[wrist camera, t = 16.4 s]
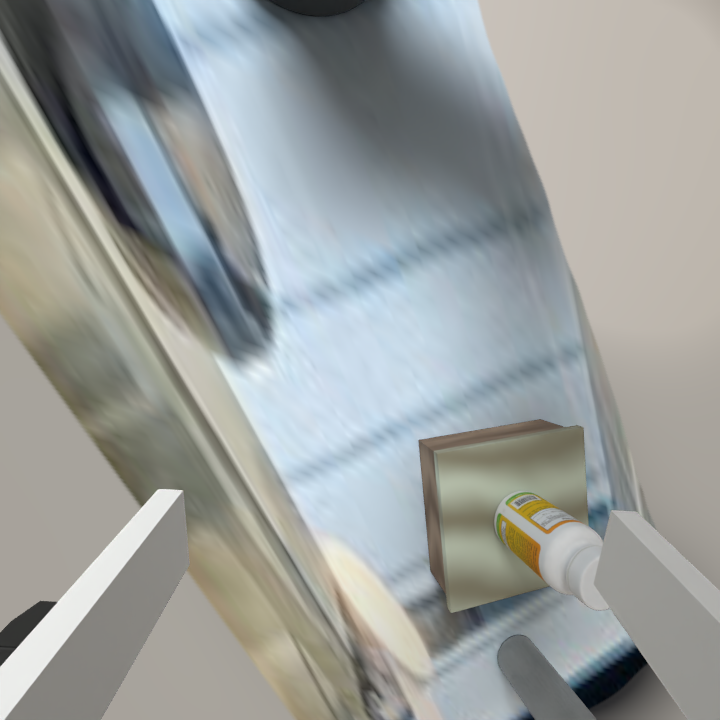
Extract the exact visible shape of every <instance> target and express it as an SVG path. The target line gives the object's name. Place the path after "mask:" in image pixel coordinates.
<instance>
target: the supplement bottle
mask: <svg viewBox="0 0 720 720" xmlns="http://www.w3.org/2000/svg"><path fill="white" fill-rule="evenodd" d="M494 528H495V532H496V534H497V536H498V538H499V539H500V540H501V542H502V543H503V544H504V545H505V546H507V547H508V548H509V549H510V550H511V551H512V552H513V553H514V554H515V555H516V556H517V557H519V558H520V559H521V560H522V561H523V562H524V563H525V564H526V565H527V566H528V567H529V568H531V569H532V570H533V571H534V572H535V573H536V574H537V575H538V576H539V577H540V578H541V579H542V580H543V581H545V582H546V583H547V584H548V585H549V586H551V587H552V588H553V589H554V590H556V591H558V592H560V593H563V594H567V595H574V596H575V597H577V598H578V599H579V600H580V601H581V602H583V603H584V604H585V605H586V606H587V607H589V608H591V609H593V610H598V611H601V610H607V609H609V608H610V607H609V606H608V604H607V603H606V601H605V600H604V599H603V597H602V596H601V594H600V593H599V591H598V590H597V588H596V587H595V586H594V584H593V583H594V579H595V575H596V571H597V567H598V563H599V558H600V554H601V550H602V546H603V541H602V539H601V537H600V536H599V535H598V534H597V533H596V532H595V531H594V530H593V529H591V528H590V527H589V526H587V525H586V524H584V523H582V522H580V521H579V520H577V519H575V518H574V517H572V516H571V515H569V514H567V513H566V512H564V511H562V510H561V509H559V508H558V507H556V506H554V505H553V504H551V503H549V502H548V501H546V500H545V499H543V498H541V497H540V496H538V495H536V494H534V493H532V492H529V491H517V492H514V493H511V494H510V495H508V496H507V497H505V498H504V499H503V500H502V501H501V503H500V504H499V506H498V508H497V510H496V513H495V517H494Z"/></svg>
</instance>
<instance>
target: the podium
mask: <svg viewBox="0 0 720 720" xmlns="http://www.w3.org/2000/svg"><path fill="white" fill-rule="evenodd" d="M419 449H420V460H421V471H422V482H423V493H424V504H425V515H426V526H427V537H428V548H429V559H430V570H431V572H432V574H433V575H434V577H435V579H436V580H437V582H438V583H439V585H440V586H441V588H442V589H443V591H444V592H445V594H446V598H447V607H448V609H449V611H450V612H451V613H454V612H457V611H461V610H465V609H468V608H472V607H476V606H479V605H483V604H487V603H490V602H494V601H498V600H501V599H505V598H508V597H512V596H516V595H519V594H523V593H527V592H530V591H534V590H538V589H541V588H545V587H549V585H548V584H547V583H546V582H545V581H543V580H542V579H541V578H540V577H539V576H538V575H537V574H536V573H535V572H534V571H533V570H532V569H531V568H529V567H528V566H527V565H526V564H525V563H524V562H523V561H522V560H521V559H520V558H519V557H517V556H516V555H515V554H514V553H513V552H512V551H511V550H510V549H509V548H508V547H507V546H505V545H504V544H503V543H502V542H501V540H500V539H499V538H498V536H497V534H496V532H495V528H494V517H495V513H496V510H497V508H498V506H499V504H500V503H501V501H502V500H503V499H504V498H505V497H507V496H508V495H510V494H511V493H514V492H517V491H529V492H532V493H534V494H536V495H538V496H540V497H541V498H543V499H545V500H546V501H548V502H549V503H551V504H553V505H554V506H556V507H558V508H559V509H561V510H562V511H564V512H566V513H567V514H569V515H571V516H572V517H574V518H575V519H577V520H579V521H580V522H582V523H584V524H586V525H587V526H588V508H587V488H586V469H585V450H584V430H583V427H581V426H577V425H576V426H570V427H563V426H560V425H556V424H553V423H550V422H547V421H544V420H541V419H539V420H534V421H528V422H522V423H516V424H510V425H504V426H499V427H493V428H487V429H481V430H475V431H469V432H464V433H458V434H452V435H446V436H440V437H434V438H429V439H423V440H419Z"/></svg>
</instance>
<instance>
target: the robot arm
mask: <svg viewBox="0 0 720 720" xmlns="http://www.w3.org/2000/svg"><path fill="white" fill-rule="evenodd" d="M270 1H272V2H274V3H276V4H277V5H279V6H281V7H283V8H286V9H288V10H291V11H294V12H297V13H301V14H305V15H312V16H329V15H335V14H339V13H343V12H346V11H348V10H350V9H352V8H354V7H356V6H357V5H359V4H360V3H362V2H363V1H364V0H270ZM188 566H189V553H188V541H187V529H186V517H185V505H184V493H183V490H168V489H158V490H157V491H156V492H155V493H154V495H153V496H152V497H151V498H150V499H149V500H148V501H147V502H146V504H145V505H144V506H143V507H142V508H141V509H140V510H139V511H138V513H137V514H136V515H135V516H134V517H133V518H132V519H131V520H130V522H129V523H128V524H127V525H126V526H125V527H124V528H123V529H122V531H121V532H120V533H119V534H118V535H117V536H116V537H115V538H114V539H113V541H112V542H111V543H110V544H109V545H108V546H107V547H106V548H105V550H104V551H103V552H102V553H101V554H100V555H99V556H98V557H97V559H96V560H95V561H94V562H93V563H92V564H91V565H90V566H89V568H88V569H87V570H86V571H85V572H84V573H83V574H82V575H81V577H80V578H79V579H78V580H77V581H76V582H75V583H74V584H73V586H72V587H71V588H70V589H69V590H68V591H67V592H66V594H65V595H64V596H63V597H62V598H61V599H60V600H59V601H58V602H48V601H40V602H38V603H37V604H35V605H34V606H33V607H31V608H30V609H28V610H27V611H25V612H24V613H23V614H21V615H20V616H18V617H17V618H15V619H14V620H13V621H11V622H10V623H9V624H8V625H7V626H6V627H5V628H4V629H3V630H2V632H0V720H101V719H102V717H103V715H104V713H105V712H106V710H107V708H108V706H109V705H110V703H111V701H112V699H113V698H114V696H115V694H116V692H117V691H118V689H119V687H120V685H121V684H122V682H123V680H124V678H125V677H126V675H127V673H128V671H129V670H130V668H131V666H132V664H133V663H134V661H135V659H136V657H137V656H138V654H139V652H140V650H141V649H142V647H143V645H144V643H145V642H146V640H147V638H148V636H149V634H150V633H151V631H152V629H153V628H154V626H155V624H156V622H157V621H158V619H159V617H160V615H161V614H162V612H163V610H164V608H165V607H166V605H167V603H168V601H169V600H170V598H171V596H172V594H173V593H174V591H175V589H176V587H177V586H178V584H179V582H180V580H181V579H182V577H183V575H184V573H185V572H186V570H187V568H188ZM593 584H594V586H595V587H596V588H597V590H598V591H599V593H600V594H601V596H602V597H603V599H604V600H605V601H606V603H607V604H608V606H609V607H610V609H611V610H612V612H613V613H614V614H615V616H616V617H617V619H618V620H619V622H620V623H621V625H622V626H623V628H624V629H625V630H626V632H627V633H628V635H629V636H630V638H631V639H632V641H633V642H634V643H635V645H636V646H637V648H638V649H639V651H640V652H641V654H642V655H643V656H644V658H645V659H646V661H647V662H648V664H649V665H650V666H651V668H652V669H653V671H654V672H655V674H656V675H657V677H658V678H659V680H660V681H661V682H662V684H663V685H664V687H665V688H666V690H667V691H668V693H669V694H670V695H671V697H672V698H673V700H674V701H675V703H676V704H677V706H678V707H679V708H680V710H681V711H682V713H683V714H684V716H685V717H686V718H687V720H720V590H719V589H717V588H716V587H715V586H714V585H713V584H712V583H711V582H710V581H709V580H708V579H707V578H706V577H704V575H703V574H702V573H701V572H699V571H698V570H697V569H696V568H695V567H694V566H693V565H692V564H691V563H690V562H689V561H688V560H687V559H686V558H685V557H684V556H683V555H682V554H681V553H679V552H678V551H677V550H676V549H675V548H674V547H673V546H672V545H671V544H670V543H669V542H668V541H667V540H666V539H665V538H664V537H663V536H662V535H661V534H659V533H658V532H657V531H656V530H655V529H654V528H653V527H652V526H651V525H650V524H649V523H648V522H647V521H646V520H645V519H644V518H643V517H642V516H640V515H639V514H638V513H637V512H636V511H616V510H611V513H610V517H609V521H608V525H607V529H606V534H605V538H604V542H603V546H602V550H601V554H600V558H599V563H598V567H597V571H596V575H595V579H594V583H593Z"/></svg>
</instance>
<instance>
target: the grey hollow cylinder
mask: <svg viewBox="0 0 720 720" xmlns="http://www.w3.org/2000/svg"><path fill="white" fill-rule="evenodd" d="M498 664H499V667H500V668H501V670H502V672H503V673H504V675H505V676H506V678H507V679H508V681H509V682H510V684H511V685H512V687H513V688H514V689H515V691H516V692H517V694H518V695H519V697H520V698H521V700H522V701H523V703H524V704H525V706H526V707H527V709H528V710H529V712H530V713H531V715H532V716H533V718H534V719H535V720H597V719H596V718H595V717H594V716H593V714H592V713H591V712H590V711H589V710H588V708H587V707H586V706H585V705H584V704H583V702H582V701H581V700H580V699H579V698H578V696H577V695H576V694H575V693H574V692H573V690H572V689H571V688H570V687H569V686H568V684H567V683H566V682H565V681H564V680H563V678H562V677H561V676H560V675H559V674H558V672H557V671H556V670H555V669H554V668H553V667H552V665H551V664H550V663H549V662H548V661H547V659H546V658H545V657H544V656H543V655H542V653H541V652H540V651H539V650H538V649H537V647H536V646H535V645H534V644H533V643H532V642H531V641H530V639H529V638H527V637H526V636H523V635H516V636H512V637H510V638H509V639H507V640H506V641H505V642H504V643H503V644H502V646H501V647H500V650H499V652H498Z"/></svg>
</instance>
